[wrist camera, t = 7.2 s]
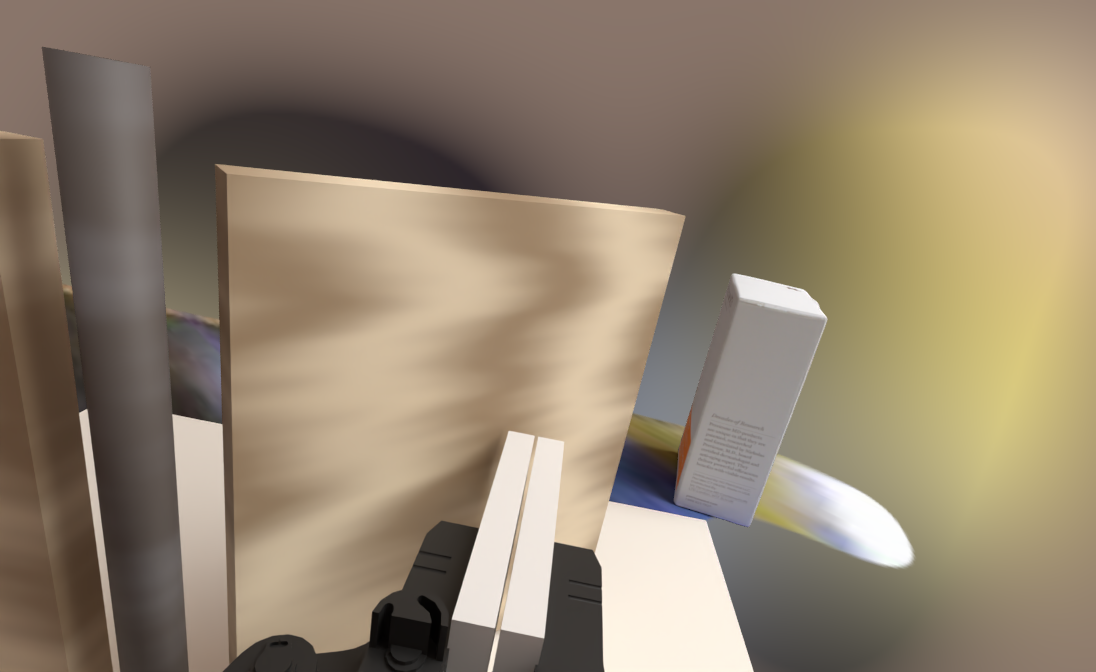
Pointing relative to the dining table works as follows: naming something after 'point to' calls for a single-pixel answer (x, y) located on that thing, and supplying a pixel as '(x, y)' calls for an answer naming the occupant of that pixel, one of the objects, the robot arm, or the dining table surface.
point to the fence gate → (411, 376)
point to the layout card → (628, 629)
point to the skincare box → (746, 396)
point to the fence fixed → (87, 386)
